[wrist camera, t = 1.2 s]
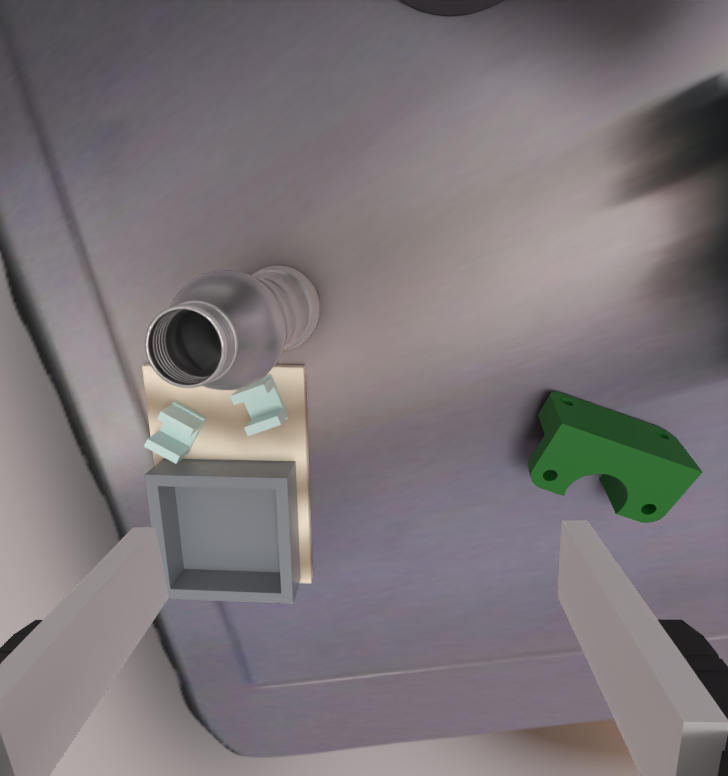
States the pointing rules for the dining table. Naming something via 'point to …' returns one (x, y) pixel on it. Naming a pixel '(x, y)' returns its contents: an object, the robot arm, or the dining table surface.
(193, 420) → the clip
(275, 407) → the clip
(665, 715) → the robot arm
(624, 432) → the clamp
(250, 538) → the holder
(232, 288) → the plastic bottle
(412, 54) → the dining table surface
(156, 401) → the board
